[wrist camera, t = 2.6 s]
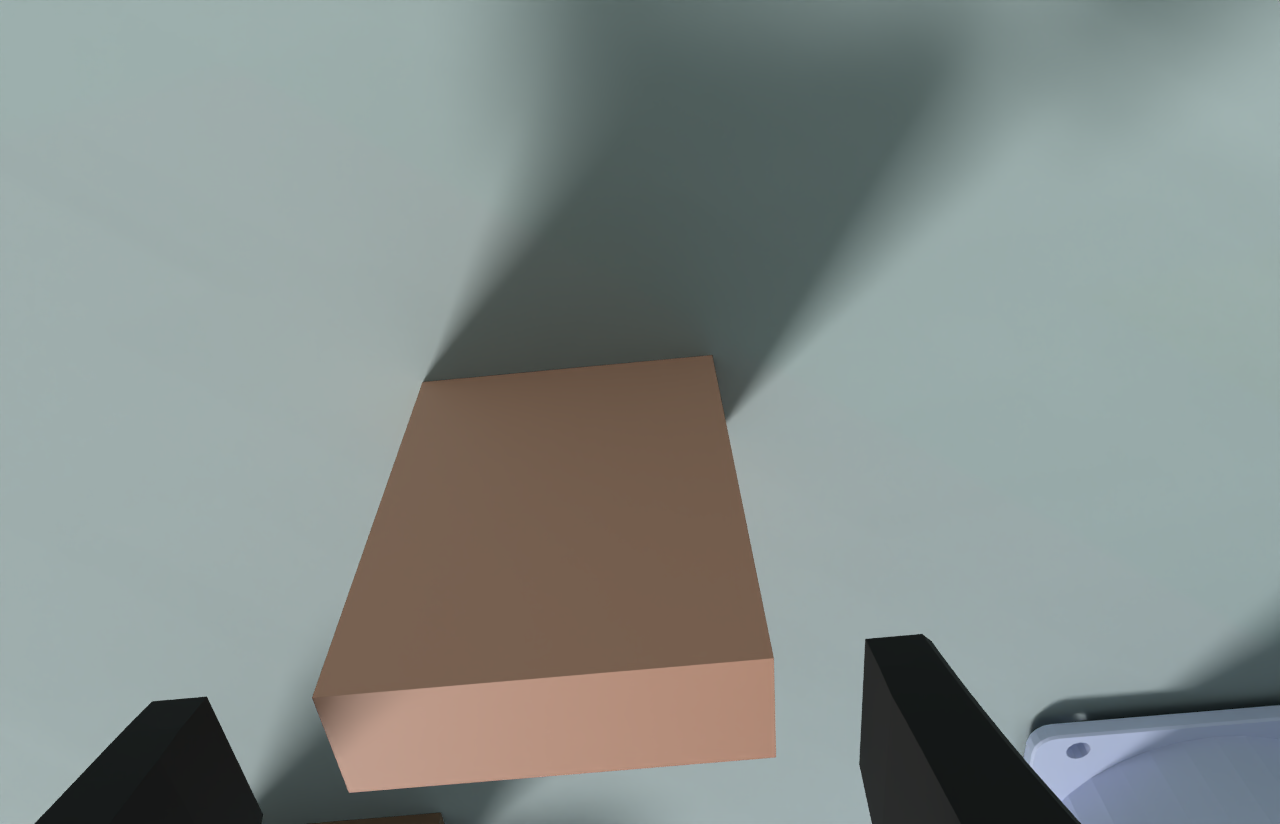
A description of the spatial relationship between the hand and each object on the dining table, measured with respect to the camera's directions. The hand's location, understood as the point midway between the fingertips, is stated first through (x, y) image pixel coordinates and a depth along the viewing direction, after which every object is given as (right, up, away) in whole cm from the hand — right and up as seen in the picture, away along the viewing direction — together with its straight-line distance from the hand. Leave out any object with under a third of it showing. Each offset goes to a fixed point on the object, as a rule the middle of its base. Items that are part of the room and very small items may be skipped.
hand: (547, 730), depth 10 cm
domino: (0, +4, +6) cm, 7 cm away
